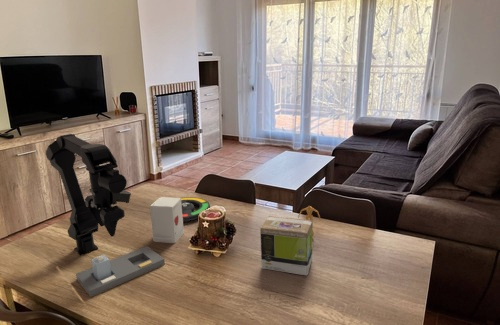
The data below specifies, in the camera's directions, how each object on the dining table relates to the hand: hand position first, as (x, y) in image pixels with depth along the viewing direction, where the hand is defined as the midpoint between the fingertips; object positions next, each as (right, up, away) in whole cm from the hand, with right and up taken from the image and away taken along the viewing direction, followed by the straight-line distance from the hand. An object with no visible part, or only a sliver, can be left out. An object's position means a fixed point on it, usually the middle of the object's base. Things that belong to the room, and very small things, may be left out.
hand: (107, 230), depth 116 cm
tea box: (+58, -11, +1) cm, 59 cm away
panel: (+5, -13, -1) cm, 14 cm away
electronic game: (+17, -1, +43) cm, 47 cm away
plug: (+1, -14, -5) cm, 15 cm away
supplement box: (+15, -7, +21) cm, 27 cm away
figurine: (+68, -6, +19) cm, 71 cm away
